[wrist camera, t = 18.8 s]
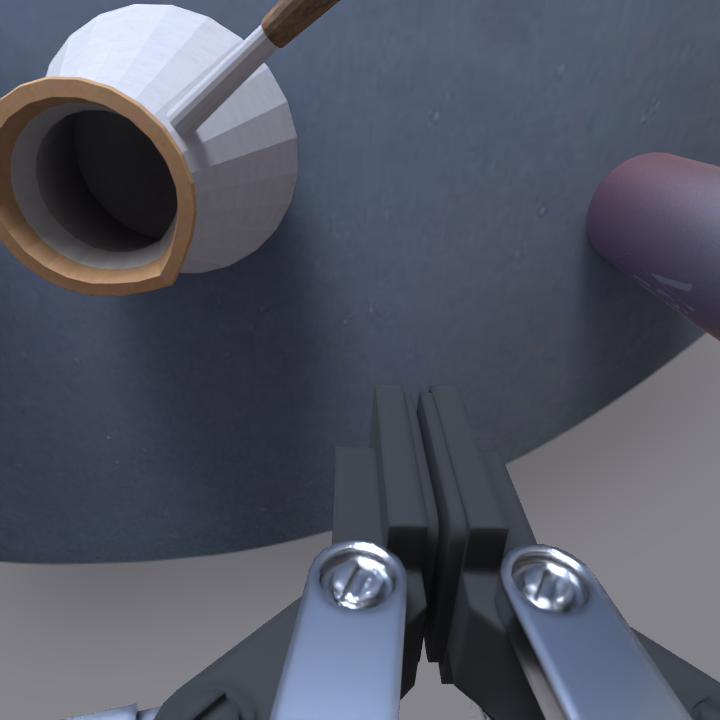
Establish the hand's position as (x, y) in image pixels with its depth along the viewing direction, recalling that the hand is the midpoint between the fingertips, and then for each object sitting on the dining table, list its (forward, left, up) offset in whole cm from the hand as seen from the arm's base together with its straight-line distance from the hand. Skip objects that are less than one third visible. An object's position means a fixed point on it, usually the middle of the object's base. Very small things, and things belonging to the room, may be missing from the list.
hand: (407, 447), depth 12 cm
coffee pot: (+5, -6, -21) cm, 23 cm away
